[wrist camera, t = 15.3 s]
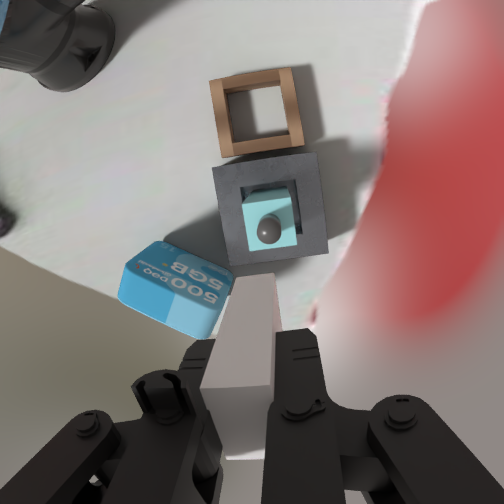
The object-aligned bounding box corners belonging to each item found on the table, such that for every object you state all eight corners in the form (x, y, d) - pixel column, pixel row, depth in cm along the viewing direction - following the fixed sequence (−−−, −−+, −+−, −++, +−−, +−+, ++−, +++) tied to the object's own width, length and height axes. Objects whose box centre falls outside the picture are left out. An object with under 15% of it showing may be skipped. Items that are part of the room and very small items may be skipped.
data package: (235, 272, 44) (221, 312, 32) (223, 298, 45) (207, 344, 34) (158, 238, 43) (120, 265, 32) (149, 265, 44) (112, 299, 33)
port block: (219, 166, 40) (211, 167, 35) (311, 152, 38) (316, 151, 33) (235, 254, 43) (229, 266, 38) (322, 242, 41) (328, 253, 37)
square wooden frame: (213, 86, 36) (209, 80, 34) (289, 73, 35) (290, 67, 32) (225, 157, 39) (221, 157, 36) (302, 146, 38) (304, 145, 35)
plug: (252, 191, 39) (237, 209, 25) (286, 186, 39) (292, 201, 24) (257, 224, 40) (246, 261, 26) (291, 220, 40) (299, 254, 26)
